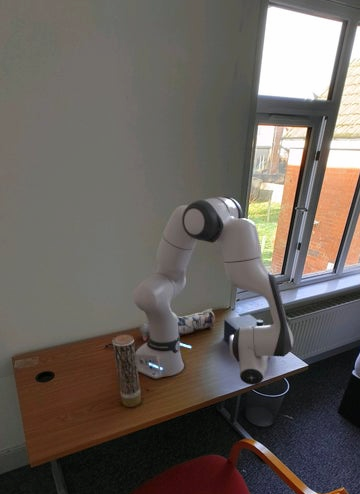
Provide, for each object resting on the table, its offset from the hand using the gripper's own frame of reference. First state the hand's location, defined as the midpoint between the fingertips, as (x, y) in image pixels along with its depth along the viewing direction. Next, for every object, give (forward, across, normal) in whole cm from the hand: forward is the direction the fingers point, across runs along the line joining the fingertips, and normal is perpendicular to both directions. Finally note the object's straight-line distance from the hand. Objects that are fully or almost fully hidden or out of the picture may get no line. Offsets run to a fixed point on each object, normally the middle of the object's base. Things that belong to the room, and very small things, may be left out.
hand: (258, 334), depth 136 cm
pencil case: (+25, +32, +14) cm, 43 cm away
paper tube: (-32, +41, +14) cm, 54 cm away
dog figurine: (+16, +48, +14) cm, 53 cm away
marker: (+9, 0, +12) cm, 15 cm away
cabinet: (+18, +6, +14) cm, 23 cm away
